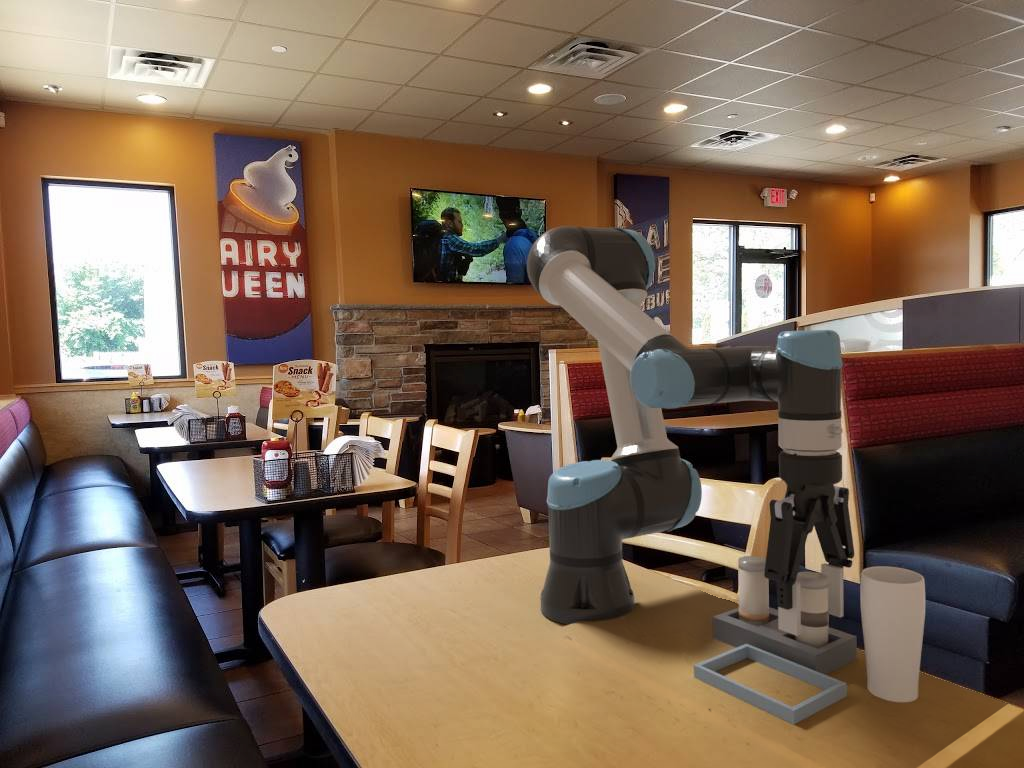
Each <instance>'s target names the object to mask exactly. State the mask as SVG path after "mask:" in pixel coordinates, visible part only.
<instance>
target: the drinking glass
mask: <svg viewBox="0 0 1024 768" xmlns="http://www.w3.org/2000/svg"><path fill="white" fill-rule="evenodd" d="M859 588H860V589H859V591H860V592H859V593H860V614H861V615H860V617H861V625H862V635H863V636H862V637H863V643H864V645H863V646H864V656H865V657H864V658H865V665H866V677H867V679H866V681H867V683H866V687H867V690H868V692H870V693H871V695H873V696H875V697H877V698H880V699H882V700H885V701H888V702H894V703H910V702H914V701H916V700H917V699H918V698H919V682H920V679H919V678H920V669H921V661H922V660H921V659H922V651H923V639H924V638H923V637H924V632H925V631H924V630H925V619H926V583H925V577H924V576H923V575H922V574H920V573H918V572H916V571H914V570H911V569H906V568H902V567H896V566H887V565H886V566H879V565H878V566H870V567H869V566H868V567H866V568H864V569H862V570H861V572H860V587H859Z"/></svg>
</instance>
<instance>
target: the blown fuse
mask: <svg viewBox="0 0 1024 768" xmlns="http://www.w3.org/2000/svg"><path fill="white" fill-rule="evenodd" d="M795 582H797V583H800V601H801V635H798V636H796V635H795V641H798V642H801V643H804V644H806V645H809V646H812V647H815V648H817V649H819V648H821V647H823V646H825V645H827V644H828V627H829V623H830V622H829V621H830V620H829V619H830V618H829V617H830V614H829V609H828V577H827V576H826V575H824V574H821V572H817V571H816V572H814V571H800V572H799V571H798V574H797V578H796V581H795Z"/></svg>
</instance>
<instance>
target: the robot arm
mask: <svg viewBox="0 0 1024 768" xmlns="http://www.w3.org/2000/svg"><path fill="white" fill-rule="evenodd" d="M655 271H656V258H655V255H654V251H653V248H652V247H651V244H650V242H648V240H647V239H646V238H645V236H643V235H642V234H641V233H639V232H637V231H635V230H633V229H626V228H622V227H620V226H619V227H615V226H614V227H612V226H611V227H592V226H589V227H588V226H576V225H575V226H574V225H560V226H557V227H553V228H551V229H549V230H547V231H545V232H544V233H543V234H541V235H540V236H539V237H538V238H537V239H536V240H535V241H534V243H533V244H532V246H531V248H530V250H529V252H528V255H527V260H526V273H527V277H528V279H529V281H530V283H531V285H532V287H533V288H534V290H535V291H536V292H537V293H538V294H539V296H541V298H543V299H544V300H545V301H546V302H547V303H549V304H551V305H553V306H561V308H562V309H564V310H565V311H566V313H568V314H569V315H570V316H571V317H572V318H573V319H574V320H575V321H576V322H577V323H578V324H579V325H580V326H582V327H583V328H584V329H585V331H587V332H588V333H589V334H590V335H591V336H592V337H593V338H595V340H597V345H598V350H599V356H600V361H601V367H602V373H603V377H604V382H605V386H606V387H605V388H606V393H607V398H608V403H609V409H610V414H611V419H612V424H613V430H614V434H615V441H616V446H617V447H616V450H615V452H613V454H612V456H611V457H610V460H608V459H607V460H605V459H592V460H589V461H588V460H585V461H584V460H582V461H578V462H577V461H576V462H574V463H570V464H566V465H564V466H562V467H559V468H557V469H556V470H555V471H553V472H552V474H551V475H550V476H549V478H548V482H547V484H548V485H547V498H546V503H547V509H548V511H547V513H548V536H549V539H548V542H549V565H548V569H547V572H546V577H545V579H544V585H543V589H542V590H541V593H540V597H539V598H540V612H541V613H542V615H543V616H545V617H546V618H548V620H551V621H553V622H556V623H560V624H563V625H573V624H575V623H579V622H600V621H601V622H603V621H608V620H615V619H618V618H620V617H623V616H626V615H627V614H629V613H630V612H632V611H633V610H634V608H635V593H634V592H633V590H632V586H631V582H630V580H629V576H628V573H627V571H626V568H625V566H624V562H623V540H627V539H631V538H636V537H642V536H646V535H653V534H658V533H667V532H672V531H673V530H676V529H678V528H683V527H685V526H687V525H688V524H690V523H691V522H692V521H693V520H694V518H696V515H697V513H698V511H699V509H700V507H701V503H702V496H703V495H702V493H703V492H702V491H703V490H702V482H701V477H700V475H699V473H698V471H697V469H696V468H693V466H694V465H693V464H692V463H691V462H689V461H688V460H686V459H683V458H681V454H680V449H679V446H678V445H676V444H675V443H673V442H672V441H671V440H670V439H669V438H668V437H667V436H668V435H667V431H666V430H667V429H666V425H665V420H664V415H663V411H662V410H663V409H666V410H667V409H668V410H672V409H673V410H674V409H679V408H685V407H693V406H701V405H710V404H711V405H712V404H723V403H732V402H733V403H734V402H742V401H760V402H761V401H762V402H771V403H772V402H774V403H777V404H778V405H777V407H778V409H777V410H778V412H777V413H778V419H777V420H778V422H777V423H778V425H777V426H778V429H777V430H778V431H777V432H778V433H777V434H778V435H777V436H778V437H777V439H778V440H777V442H778V444H777V445H778V447H780V448H781V449H782V450H781V451H780V453H778V469H779V470H778V476H779V479H781V481H783V482H784V483H785V484H786V492H785V494H784V498H783V499H782V498H781V499H780V500H777V499H771V500H770V502H769V513H770V514H769V515H770V516H769V517H770V523H769V530H768V539H767V548H766V557H765V559H766V563H765V572H764V576H765V578H768V579H769V580H771V581H775V582H776V605H777V610H778V629H779V630H782V631H785V632H788V633H790V634H793V635H796V636H798V635H801V601H800V583H797V582H795V581H796V578H797V574H798V573H799V570H800V565H801V562H802V558H803V554H804V552H805V551H804V550H805V546H806V543H807V539H808V535H809V534H810V533H811V534H812V532H813V530H814V529H815V532H816V533H815V534H816V536H817V539H818V542H819V544H820V545H819V546H820V548H821V550H822V555H823V558H824V560H825V562H826V563H825V562H824V563H822V564H820V573H821V574H824V575H826V576H827V577H828V609H829V615H831V616H834V617H838V618H842V617H844V582H845V581H844V568H848V569H849V568H851V567H852V565H853V560H852V559H854V557H855V549H854V548H855V547H854V539H853V533H852V525H851V518H850V517H851V515H850V510H849V509H850V508H849V497H850V490H849V488H847V487H843V486H837V484H839V483H840V482H841V481H842V480H843V455H842V454H841V453H840V452H839V450H840V449H841V448H843V447H842V445H843V444H842V443H843V442H842V434H843V428H842V408H841V407H842V381H843V367H844V362H843V359H842V347H841V338H840V335H839V334H838V332H837V331H835V330H833V329H816V330H815V329H812V330H786V331H785V330H784V331H781V332H780V333H778V335H777V344H776V345H774V346H767V345H766V346H765V345H764V346H762V345H743V344H742V345H740V344H738V345H727V346H722V347H705V348H690V347H688V346H686V345H685V344H684V343H683V342H682V341H680V340H678V338H676V337H675V336H674V335H672V334H671V333H670V332H669V331H667V330H666V329H665V328H664V327H662V326H661V324H659V323H658V322H656V321H655V320H654V319H653V318H652V317H650V316H649V315H648V314H646V312H644V311H643V310H642V305H643V304H644V301H645V300H646V299H647V297H648V291H647V290H648V288H650V286H651V285H652V282H653V280H654V278H655V277H654V275H653V273H654V272H655ZM794 521H795V522H794Z"/></svg>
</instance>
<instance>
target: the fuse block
mask: <svg viewBox="0 0 1024 768" xmlns="http://www.w3.org/2000/svg"><path fill="white" fill-rule="evenodd" d="M712 638H713V639H714V640H715V639H716V640H718V641H721V642H723V643H725V644H727V645H730V646H733V647H735V648H737V647H739V646H742V645H744V644H749V645H751V646H754V647H756V648H759V649H761V650H764V651H766V652H769V653H771V654H774V655H776V656H779V657H781V658H784V659H787V660H789V661H792V662H794V663H797V664H799V665H802V666H804V667H807V668H809V669H812V670H814V671H817V672H819V673H822V674H824V675H828V674H830V673H833V672H834V671H836V670H838V669H839V668H842V667H845V666H846V665H848V664H850V663H852V662H854V661H856V660H857V659H858V657H857V656H858V652H857V651H858V649H857V647H858V646H857V645H858V644H857V643H858V642H857V641H858V640H857V638H858V637H857V635H853V634H850V633H848V632H845V631H842V630H839V629H836V628H833V627H830V626H828V644H827V645H825V646H823V647H821V648H819V649H817V648H815V647H812V646H809V645H806V644H804V643H801V642H798V641H795V635H793V634H790V633H788V632H785V631H782V630H779V629H778V609H776V608H773V607H770V606H769V622H768V623H766V624H763V625H761V626H758V627H757V626H755V625H752V624H749V623H746V622H744V621H741V620H739V606H738V607H736V608H733V609H730V610H727V611H724V612H722V613H720V614H717V615H713V616H712Z"/></svg>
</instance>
